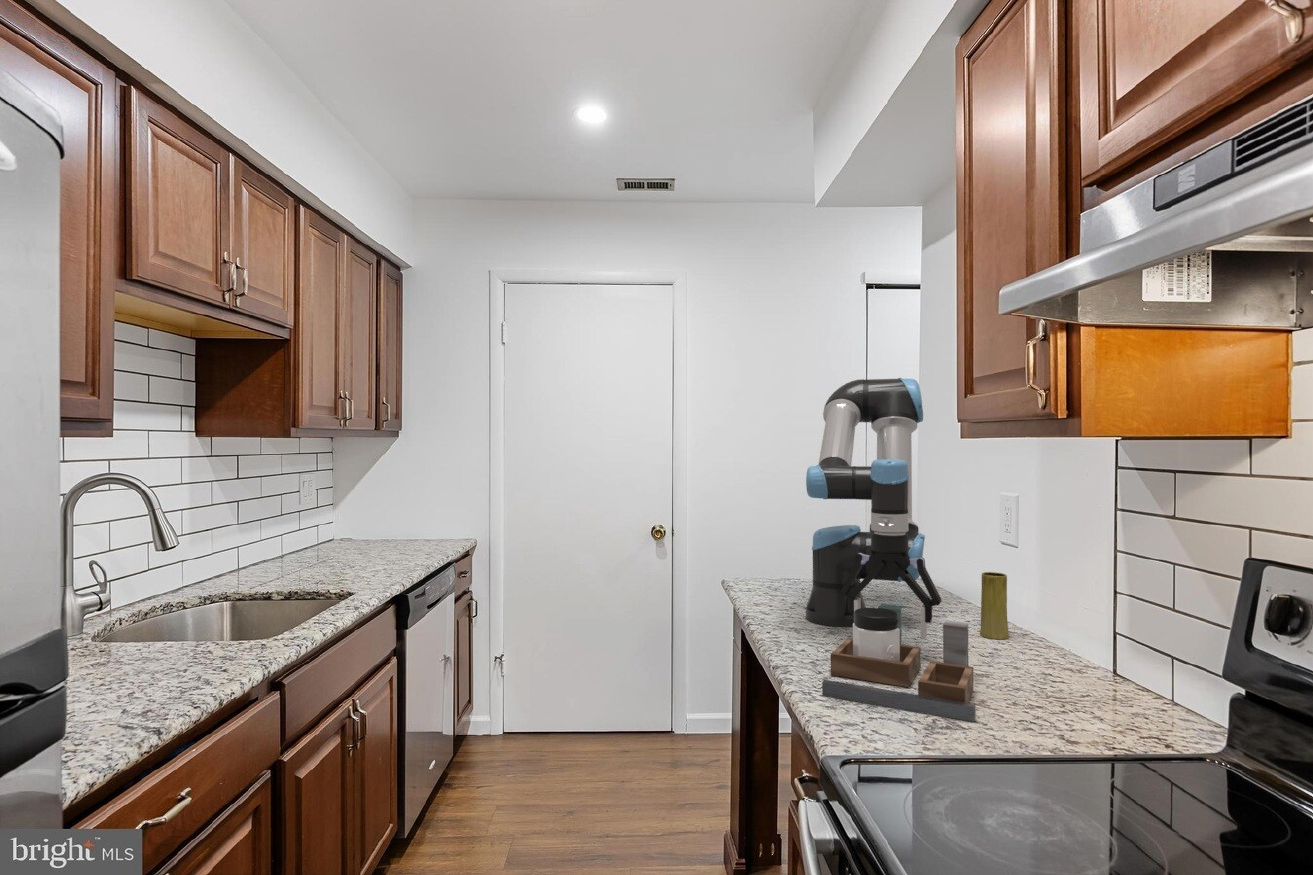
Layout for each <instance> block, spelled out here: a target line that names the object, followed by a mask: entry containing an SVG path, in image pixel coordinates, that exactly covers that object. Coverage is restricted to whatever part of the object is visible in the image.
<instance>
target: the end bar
mask: <svg viewBox="0 0 1313 875" xmlns="http://www.w3.org/2000/svg"><path fill="white" fill-rule="evenodd" d="M821 685H822V686H821V690H822V692H821V696H822V697H828V698H834V699H839V700H845V701H850V702H857V703H864V704H869V705H873V706H874V705H875V706H879V707H886V708H892V709H897V710H903V711H909V712H914V713H921V714H926V715H931V716H937V717H943V718H948V719H952V720H953V719H955V720H959V721H960V720H961V721H967V722H971V723H975V722H976V719H977V718H976V714H977V713H976V712H977V711H976V707H977V706H976V704H975V703H970V702H969V703H964V702H958V701H952V700H946V699H940V698H934V697H928V696H922V695H918V694H913V693H909V692H902V691H897V690H889V689H884V688H879V687H873V686H872V687H871V686H866V685H859V684H852V683H847V682H841V681H836V680H835V681H834V680H828V679H823V681H822V682H821Z"/></svg>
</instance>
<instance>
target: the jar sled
mask: <svg viewBox="0 0 1313 875" xmlns="http://www.w3.org/2000/svg"><path fill="white" fill-rule="evenodd" d="M877 608H882V609H888V610H892V611H894V612H896V613H897V614H898V628H899V629H900V662H896V661H889V660H882V659H875V658H868V657H861V656H854V655H853V637H847V638H846V639H845V640H844V641H843V642H841V643H840V645H839V646H837V647H836V648H835V649H834V650H833V651H832V652H831V653H830V675H831V676H837V677H842V678H843V677H844V678H848V679H849V678H850V679H854V680H862V681H868V682H874V683H882V684H888V685H894V686H899V687H906V688H909V687H910V685H911V684H912V681H913V680H914V678H916V677H917V676H916V675H917V674H918V672H919V671H920V670H921V664H922V663H921V662H922V660H921V657H922V653H921V649H922V648H921V646H915V645H906V644H902V605H899V604H891V603H890V604H887V603H881V604H880V605H879V606H878V607H877Z"/></svg>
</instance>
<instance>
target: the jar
mask: <svg viewBox="0 0 1313 875" xmlns="http://www.w3.org/2000/svg"><path fill="white" fill-rule="evenodd" d="M852 638H853V655H854V656H861V657H868V658H875V659H882V660H889V661H896V662H900V629H899V628H898V614H897V613H896V612H894V611H892V610H888V609H882V608H878V607H866V608H860V609H857V610H855V611H854V623H853V626H852Z"/></svg>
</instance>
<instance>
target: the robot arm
mask: <svg viewBox="0 0 1313 875" xmlns="http://www.w3.org/2000/svg"><path fill="white" fill-rule="evenodd" d="M923 409H924V408H923V400H922V393H921V388H920V384H919V382H918V381H917V380H916V379H913V378H902V377H898V378H882V379H881V378H873V379H871V378H869V379H865V378H863V379H855V380H851V381H849V382H846V383H845V384H844V385H841V386H840V387H838V388H837V389H836V390H835V391H833V393H831V395H830V396H829V397H828V399H827V400H826V402H825V405H824V407H823V413H822V415H823V420H824V423H825V424H824V428H823V435H822V441H821V442H822V443H821V447H820V453H819V457H818V458H819V459H818V464H817V465H811V466H809V467H807V470H806V473H805V474H806V478H805V482H806V483H805V486H806V487H805V488H806V494H807V495H808V497H809V498H812V499H823V500H862V501H865V500H866V501H871V502H870V504H871V506H870V507H871V508H870V510H871V511H870V524H869V531H861V530H862V529H861V527H860V526H859V525H856V524H854V525H853V524H851V525H850V524H845V525H843V524H842V525H834V526H828V527H823V528H819V529H817V530H816V531H814V533H813V535H812V547H811V551H812V588H811V591H810V595H809V597H808V601H807V602H806V603H807V604H806V607H805V619H806V620H807V621H809V622H811V623H814V624H819V625H824V626H831V627H853V623H854V611H855V610H857V609H860V608H867V607H866V603H865V601H864V600H865V599H864V597H863V594H862V591H863V590H864V589H865V588H866V587H867V586H868V585H869V583H871V581H872V580H873V581H874V580H875V581H888V582H889V581H891V582H892V581H893V582H897V583H900V582H904V583H906V585H907V586H908V587H909V589H910V590H911V591H912V593H913V594H915V596H916V597H917V598H918V599H919V601H920V602H921V603H922V605H921V606H920V640H926V638H928V637H927V636H928V630H927V629H928V628H927V626H928V624H930V623H931V622H932V620H933V607H935V606H939V605H940V604H941V603H942V597H941V596H940V594H939V591H938V589H937V588H936V587H937V586H936V585H935V583H934V581H933V579H932V578H931V576H930V574H929V572H928V569H927V568H926V560H925V558H924V557H923V554H924V547H925V539H926V536H925V534H923V533H921V532H920V531H919V525H918V524H917V523H915V521H913V503H912V502H913V493H912V491H913V489H912V488H913V486H912V485H913V484H912V483H913V482H912V481H913V480H912V479H913V478H912V476H913V475H912V473H913V469H912V468H913V467H912V462H913V460H912V458H913V457H912V456H913V454H912V452H913V451H912V433H914V432H915V431H916V430H917V429H918V426H919V425H918V424H919V423H921V422H923V421H924V410H923ZM859 423H871V424H870V427H871V429H872V430H873V432H875V434H876V459H875V460H873V461H872V462H871V466H869V465H868V466H866V465H865V466H859V465H858V466H856V465H855V466H854V465H852V462H853V452H854V445H855V444H854V443H855V442H854V440H855V432H856V427H857V425H858V424H859ZM919 578H920V579H921V580H922V583H923V584H924V586H925V588H926V591H927V593H926V592H925V591H924V589H923V588H922V587H921V586H920V585H919V583H918V582H917V580H918V579H919ZM861 580H862V581H861ZM928 594H929V595H928Z"/></svg>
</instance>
